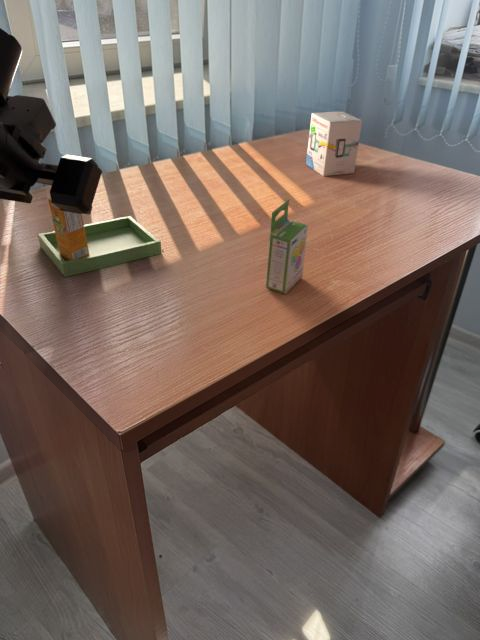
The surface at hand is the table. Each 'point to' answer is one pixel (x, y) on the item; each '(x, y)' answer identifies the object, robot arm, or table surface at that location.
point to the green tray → (105, 246)
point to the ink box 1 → (285, 251)
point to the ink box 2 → (333, 143)
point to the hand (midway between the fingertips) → (60, 205)
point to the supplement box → (69, 233)
